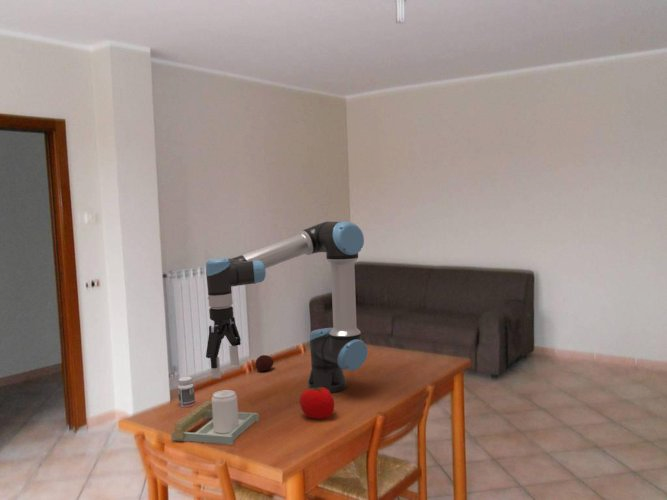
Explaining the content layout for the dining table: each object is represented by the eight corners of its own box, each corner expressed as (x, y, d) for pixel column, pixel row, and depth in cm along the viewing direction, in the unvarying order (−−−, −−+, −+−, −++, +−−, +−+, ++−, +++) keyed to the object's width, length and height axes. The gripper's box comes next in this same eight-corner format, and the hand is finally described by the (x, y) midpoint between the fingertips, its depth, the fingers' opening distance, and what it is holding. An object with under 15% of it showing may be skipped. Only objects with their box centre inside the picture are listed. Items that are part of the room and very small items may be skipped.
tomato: (325, 425, 191) (323, 394, 190) (293, 418, 198) (292, 389, 197) (343, 413, 200) (341, 384, 199) (312, 408, 207) (310, 379, 206)
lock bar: (217, 412, 203) (216, 400, 203) (183, 438, 182) (182, 425, 181) (207, 411, 204) (206, 399, 204) (171, 437, 183) (170, 424, 182)
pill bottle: (198, 402, 218) (196, 376, 217) (189, 408, 213) (187, 381, 212) (184, 401, 220) (182, 375, 219) (176, 406, 215) (174, 380, 214)
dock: (258, 420, 198) (258, 413, 197) (232, 444, 178) (231, 436, 178) (202, 416, 204) (202, 409, 203) (171, 440, 184) (170, 432, 184)
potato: (277, 368, 258) (276, 353, 257) (265, 374, 251) (264, 358, 250) (264, 367, 262) (263, 351, 261) (252, 372, 254) (251, 356, 254)
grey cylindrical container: (212, 435, 186) (209, 398, 185) (215, 425, 194) (212, 390, 193) (238, 433, 186) (235, 396, 185) (239, 423, 194) (237, 388, 193)
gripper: (227, 299, 201) (232, 359, 203) (191, 314, 177) (196, 383, 179) (247, 299, 199) (252, 360, 201) (213, 314, 175) (219, 383, 177)
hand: (226, 371), depth 190 cm, fingers open, 13 cm apart
